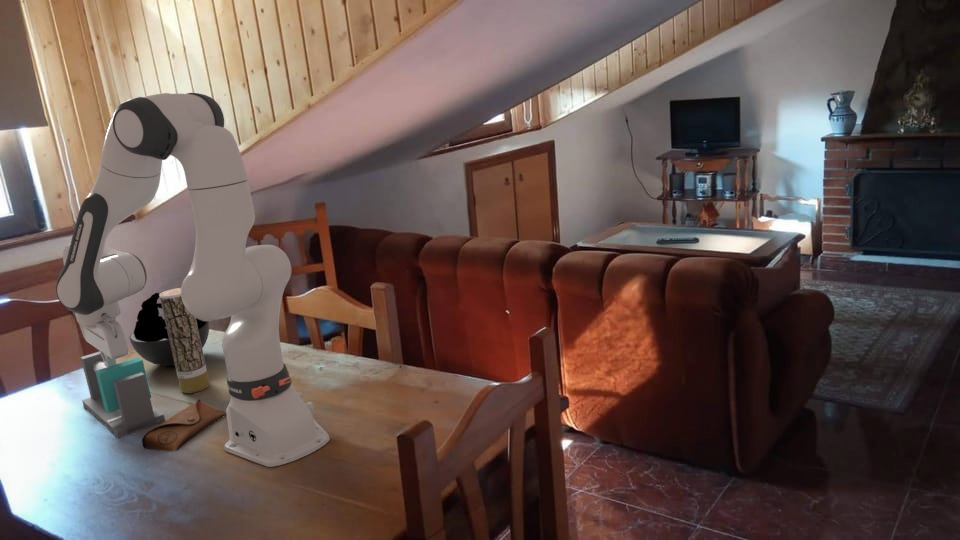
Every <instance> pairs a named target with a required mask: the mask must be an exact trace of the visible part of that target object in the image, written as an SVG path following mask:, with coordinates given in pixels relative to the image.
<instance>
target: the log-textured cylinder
mask: <svg viewBox="0 0 960 540" xmlns="http://www.w3.org/2000/svg"><path fill="white" fill-rule="evenodd" d="M159 300H160V303H161V304H162V313H163V317H164V318H163V319H165V322H166V327H167V331H168V336H169V340H170V345H171V349H172V354H173V358H174V363H175V365H174V367H175V371H176V376H177V380H178V384H179V389H180V391H181V392H182V393H184V394H192V393H193V394H194V393H199V392H201V391H204V390H205V389H207V388H208V387H209V385H210V380H209V374H208V371H207V370H208V369H207V365H206V360H205V355H204V350H203V348H202V345H201V340H200V336H199V331H198V326H197V321H196V318H195V317H194V316H193V315H191V314H190V313H189V312H188V310H187V309H186V307H185V306H184V304H183V301H182V297H181V287H177V288H176V287H175V288H172V289H168V290H165V291H163V292H161V293H160V297H159Z"/></svg>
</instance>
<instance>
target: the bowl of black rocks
mask: <svg viewBox="0 0 960 540" xmlns="http://www.w3.org/2000/svg"><path fill="white" fill-rule="evenodd" d="M160 294H161V293H160V292H155V293H154V294H151V296H150V297H148V298H147V299H146V300H144V301H142V303H141V305H140V306H141V309H140V310H139V312H138V313H137V316H136V319H137V321H136V322H135V326H134V330H133V331H132V332H131V334H129V342H130V344H131V347H133V349H134V350H135V352H136V353H137V354H138V355H139V356H140V358H142V359H144V360H145V361H147V362H149V363H151V364H153V365H156V366H164V367H171V366H172V367H173V366H174V367H175V363H174V358H173V354H172V349H171V345H170V340H169V336H168V331H167V327H166V322H165V318H163V317H164V316H162V315H160V310H159V309H162V304H161V302H159V303H158V300H159V299H160ZM162 310H163V309H162ZM196 321H197V326H198V331H199V336H200V340H201V345H202V349H203V348H204V347H205V345H206V343H207V341H208V337H209V333H210V321H202V320H199V319H197V318H196Z"/></svg>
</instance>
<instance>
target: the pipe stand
mask: <svg viewBox="0 0 960 540" xmlns="http://www.w3.org/2000/svg"><path fill="white" fill-rule="evenodd" d="M80 360H81V364H82V369H83V373H84V376H85V379H86V383H87V388H88V392H89V396H90V397H88V398H84V399H82V400H81V403H82V405H83V407H84V408H85V409H86V410H87V411H88V412H89V413H91V414H92V415H93V416H94V417H95V418H96V419H97V420H99V422H101V424H103V426H105V427H106V428H107V429H108V430H110V432H111V433H112V434H113V435H115V436H116V437H117V438H118V439H120V438H123V437H124V436H125V437H126V436H128V435H131V434H133V433H135V432H138V431H141V430H143V429H146V428H149V427H151V426H154V425H157V424H160V423H163V422H165V421H166V419H165V414H164V413H163V412H161V411H160V410H158V409H157V408H155V407H154V406H153V405H152V401H151V398H150V396H149V392H148V387H147V383H146V379H145V375H144V374H143V373H142V372H140V373H137V374H134V375H131V376H128V377H125V378H122V379H119V380H116V381H113V384H114V388H115V392H116V396H117V400H118V404H119V408H120V409H119V410H116V411H113V412H110V413H109V412H107V411H106V410H105V408H104V404H103V400H102V396H101V392H100V388H99V384H98V380H97V377H96V373H95V371H97V370H100V369H103V368H106V366H105V364H104V360H103V358H102V356H101V354H100V352H99V351H97V352H93V353H90V354H86V355H83V356H81V357H80ZM159 422H160V423H159Z"/></svg>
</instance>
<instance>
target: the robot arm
mask: <svg viewBox="0 0 960 540" xmlns="http://www.w3.org/2000/svg"><path fill="white" fill-rule="evenodd" d="M170 156H172V157H173V158H175V159H177V160H178V161H179V163H180V164H181V166H182V169H183V172H184V176H185V181H186V186H187V192H188V195H189V200H190V204H191V209H192V210H191V211H192V214H193V219H194V221H193V222H194V227H195V245H194V253H193V259H192V262H191V265H190V269H189V271H188V273H187V275H186V276H185V278H184V280H183V282H182V283H181V287H180V288H181V297H182V301H183V304H184V306H185V307H186V309H187V310H188V312H189V313H190V314H191V315H193V316H194V317H195V318H197V319H199V320H202V321H209V322H212V321H217V320H222V319H226V318H227V319H228V318H229V317H230V322H229V324H228V326H227V329H226V330H225V332H224V334H223V336H222V341H221V345H222V351H223V356H224V361H225V366H226V371H227V376H226V381H227V382H226V386H227V389H228V392H229V395H230V400H229V403H228V405H227V407H226V409H225V413H226V415H225V416H226V420H227V421H226V422H227V428H228V436H229V440H228V441H226V443H225V444H224V451H225V452H227V453H230V454H233V455H235V456H238V457H241V458H244V459H246V460H249V461H251V462H254V463H256V464H259V465H262V466H264V467H267V468H268V467H269V468H272V467H278V466H282V465H286V464H287V463H288V464H289V463H292V462H294V461H297V460H299V459H301V458H304V457H306V456H308V455H310V454H312V453H314V452H317V450H319V449H321V448H322V447H323V446H325V445H326V444H327V443H328V442H329V441H330V440H331V438H330V435H329V434H328V432H327V431H326V430H325V429H324V428H323V427H322V426H321V425H320V424H319V423H318V422H317V421H316V420H315V419H314V416H313V413H315V407H314V406H315V405H314V404H313V402H312V401H309V402H305V400H303V394H302V392H298V391H297V390H296V388H295V387H294V386H293V383H292V379H291V375H290V371H289V370H288V367H287V366H286V364H285V363H284V359H283V353H282V347H281V340H280V330H279V329H280V327H279V323H280V313H281V306H282V300H283V295H284V291H285V288H286V287H287V284H288V282H289V280H290V278H291V275H292V264H291V260H290V258H289V257H288V255H287V254H286V252H284V250H282V248H280V247H278V246H276V245H274V244H258V245H251V246H247V242H248V241H247V240H248V237H249V233H250V231H251V229H252V228H253V226H254V223H255V222H256V220H255V219H256V214H255V212H256V211H255V209H254V207H255V206H254V204H253V198H252V193H251V189H250V184H249V180H248V175H247V171H246V167H245V164H244V163H245V162H244V160H243V157H242V154H241V151H240V148H239V146H238V144H237V141H236V139H235V136H234V135H233V133H232V132H231V131H230V130H228V129H227V128H225V116H224V112H223V110H222V108H221V105H220V104H219V103H218V102H217V101H216V100H215V99H214V98H212V97H211V96H208V95H206V94H203V93H199V92H187V93H167V92H165V93H164V92H163V93H155V94H149V95H146V96H135V97H132V98H130V99H127V100H125V101H123V102H121V103H120V104H118V105H117V107H116V108H115V110H114V112H113V114H112V119H111V120H110V122H109V126H108V127H107V132H106V134H105V137H104V142H103V146H102V151H101V157H100V167H99V171H98V174H97V176H96V179H95V182H94V185H93V186H92V187H91V188H92V189H91V190H90V192H89V193H88V195H87V196H86V197H85V199H84V200H83V202H82V203H81V206H80V208H79V211H78V213H77V218H76V220H75V221H76V222H75V223H74V224H75V225H74V229H73V232H72V237H71V241H70V243H69V244H67V245H65V246H64V248H63V252H62V261H63V268H62V269H61V271H60V272H59V275H58V278H57V281H56V286H55V290H56V291H55V292H56V297H57V299H58V301H59V302H60V304H61V305H62V306H63V307H65V309H67V310H69V311H70V312H72V314H73V315H74V316H75V319H76V321H77V323H78V325H79V327H80V328H79V329H80V330H81V332H82V333H81V334H82V336H83V338H84V340H85V341H86V342H87V343H89V344H90V346H92V347H94V349H96V350H97V351H98V352H100V354H101V356H102V358H103V360H104V364H105V366H106V367H109V366H113V365H116V364H118V363H117V359H119V358H123V357H126V356H128V355H129V348H128V345H127V344H128V343H127V340H126V338H125V333H124V330H123V328H122V325H121V324H120V323H119V322H118V321H117V318H116V317H118V316H119V315H120V314H121V308H120V304H119V301H122V300H123V299H126V298H128V297H131V296H134V295H136V294H137V293H139V292H141V291H143V290H144V289H145V286H146V284H147V280H148V278H147V277H148V276H147V269H146V266H145V265H144V263H143V261H142V260H141V259H140V258H139V257H138V256H137V255H135V254H133V253H132V252H124V251H120V250H117V249H115V248H112V247H109V245H106V240H107V239H108V236H109V235H110V233H111V232H112V231H113V230H114V229H115V228H116V226H117V227H118V225H119V224H121V223H122V222H123V221H124V220H126V219H127V218H129V217H130V216H132V215H133V214H135V213H137V212H139V211H140V210H142V209H144V208H145V207H147V206H148V205H150V203H151V202H152V201H153V200H154V199H155V197H156V194H157V192H158V190H159V186H160V181H161V173H162V167H163V166H162V165H163V161H165V160H167V159H168V158H169V157H170Z"/></svg>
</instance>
